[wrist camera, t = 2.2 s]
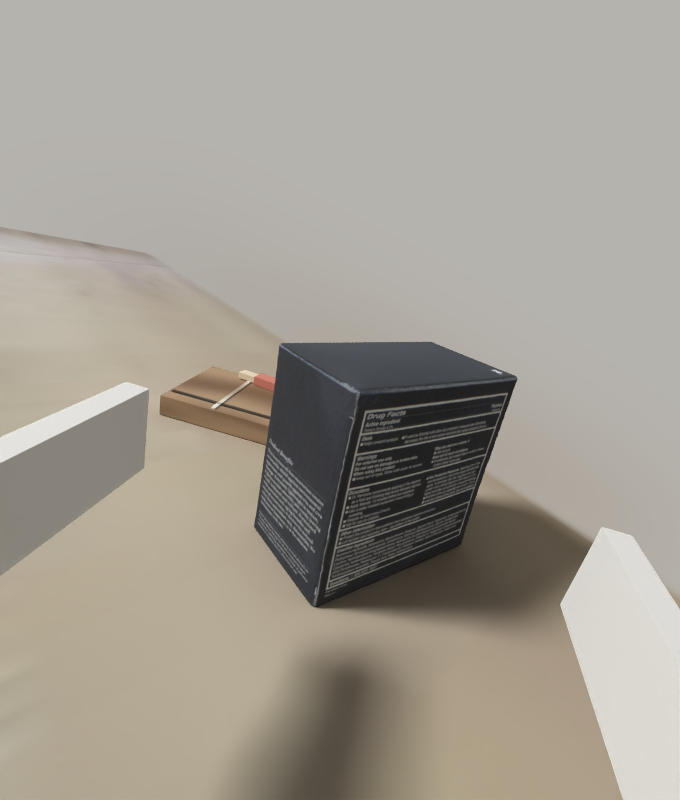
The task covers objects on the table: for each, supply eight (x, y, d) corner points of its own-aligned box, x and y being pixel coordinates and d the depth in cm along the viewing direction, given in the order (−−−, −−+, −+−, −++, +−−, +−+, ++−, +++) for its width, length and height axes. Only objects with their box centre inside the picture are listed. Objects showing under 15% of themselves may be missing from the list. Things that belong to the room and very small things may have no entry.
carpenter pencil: (390, 427, 36) (392, 419, 35) (386, 432, 34) (388, 424, 34) (245, 375, 39) (246, 367, 39) (237, 378, 38) (238, 370, 38)
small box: (390, 485, 31) (431, 336, 27) (464, 546, 26) (527, 378, 22) (247, 522, 24) (275, 334, 20) (312, 613, 20) (364, 392, 16)
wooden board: (397, 483, 31) (403, 463, 30) (159, 413, 33) (160, 394, 33) (406, 436, 38) (411, 419, 38) (211, 382, 40) (212, 365, 40)
